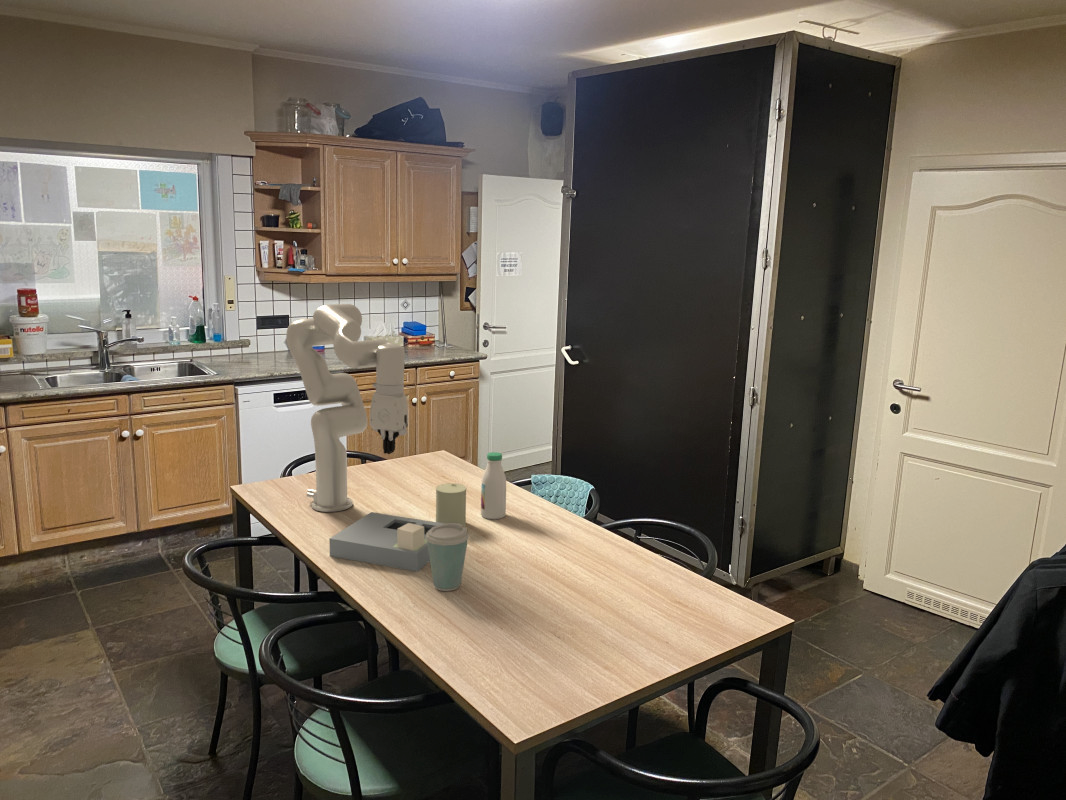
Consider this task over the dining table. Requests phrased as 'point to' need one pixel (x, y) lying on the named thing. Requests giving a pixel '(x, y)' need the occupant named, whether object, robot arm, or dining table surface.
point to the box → (380, 542)
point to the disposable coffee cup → (447, 554)
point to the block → (410, 536)
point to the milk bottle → (493, 488)
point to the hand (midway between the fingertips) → (389, 452)
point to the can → (451, 503)
